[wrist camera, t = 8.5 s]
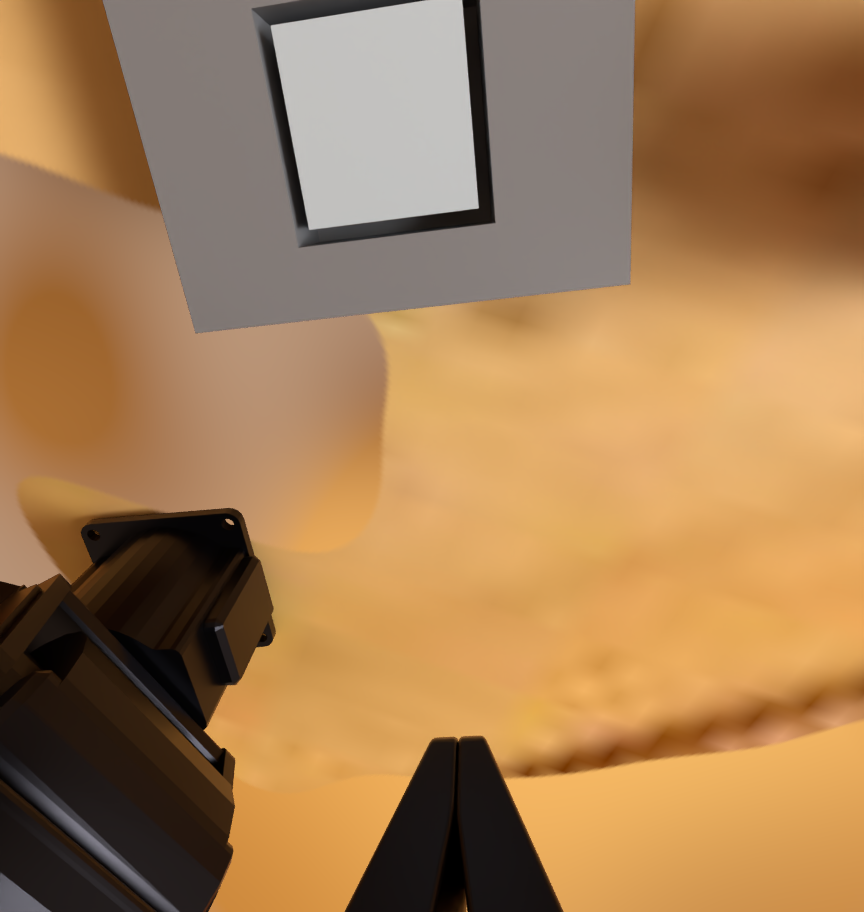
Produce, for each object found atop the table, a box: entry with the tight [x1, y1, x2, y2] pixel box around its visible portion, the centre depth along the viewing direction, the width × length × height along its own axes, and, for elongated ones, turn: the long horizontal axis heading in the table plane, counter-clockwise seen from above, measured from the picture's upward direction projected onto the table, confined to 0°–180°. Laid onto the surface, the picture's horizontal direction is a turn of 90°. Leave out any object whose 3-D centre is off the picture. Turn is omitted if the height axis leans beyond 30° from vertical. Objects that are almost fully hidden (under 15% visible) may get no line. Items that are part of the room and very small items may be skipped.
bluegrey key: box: [271, 0, 479, 230], centre depth 15 cm, size 4×4×2 cm
